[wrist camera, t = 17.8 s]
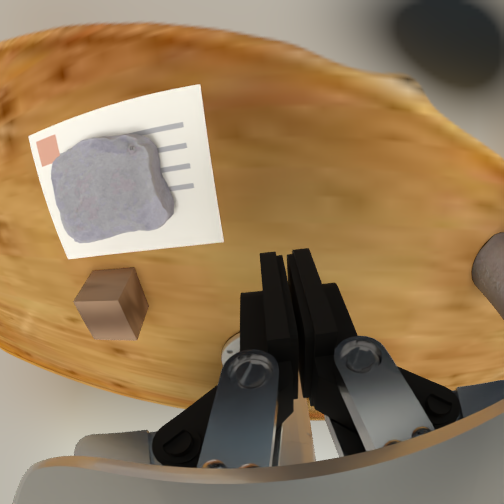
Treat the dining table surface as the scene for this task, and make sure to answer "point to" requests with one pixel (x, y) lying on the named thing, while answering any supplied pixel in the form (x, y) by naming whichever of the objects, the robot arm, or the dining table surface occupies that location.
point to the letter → (171, 163)
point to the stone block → (110, 187)
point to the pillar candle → (491, 272)
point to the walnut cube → (112, 304)
